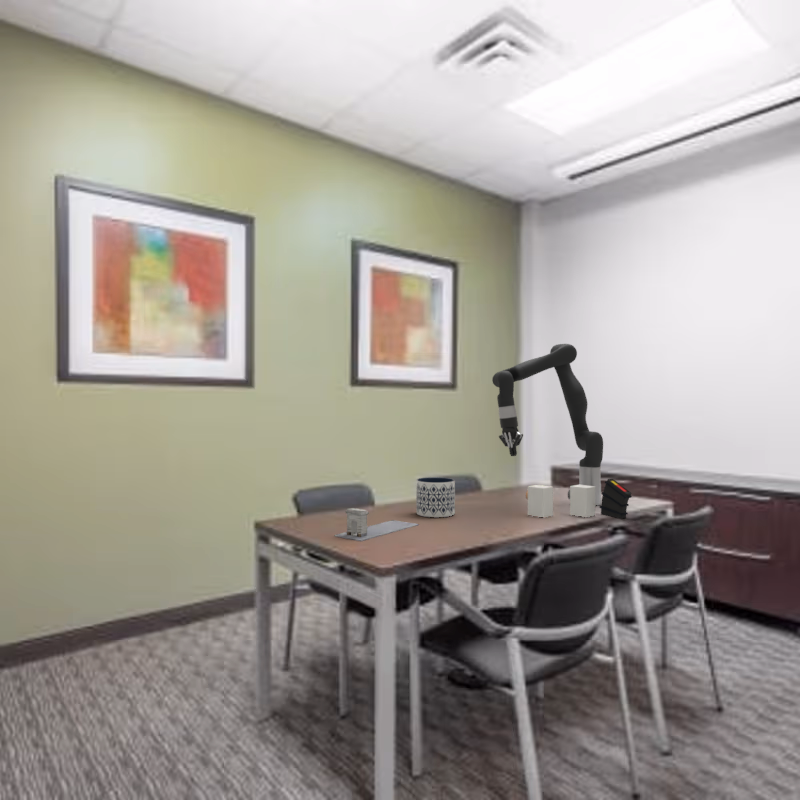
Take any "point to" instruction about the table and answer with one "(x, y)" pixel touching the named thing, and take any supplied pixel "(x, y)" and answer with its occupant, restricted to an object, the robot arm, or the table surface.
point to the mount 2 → (582, 500)
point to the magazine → (614, 499)
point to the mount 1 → (540, 500)
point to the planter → (435, 497)
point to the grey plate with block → (360, 530)
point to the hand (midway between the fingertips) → (513, 455)
